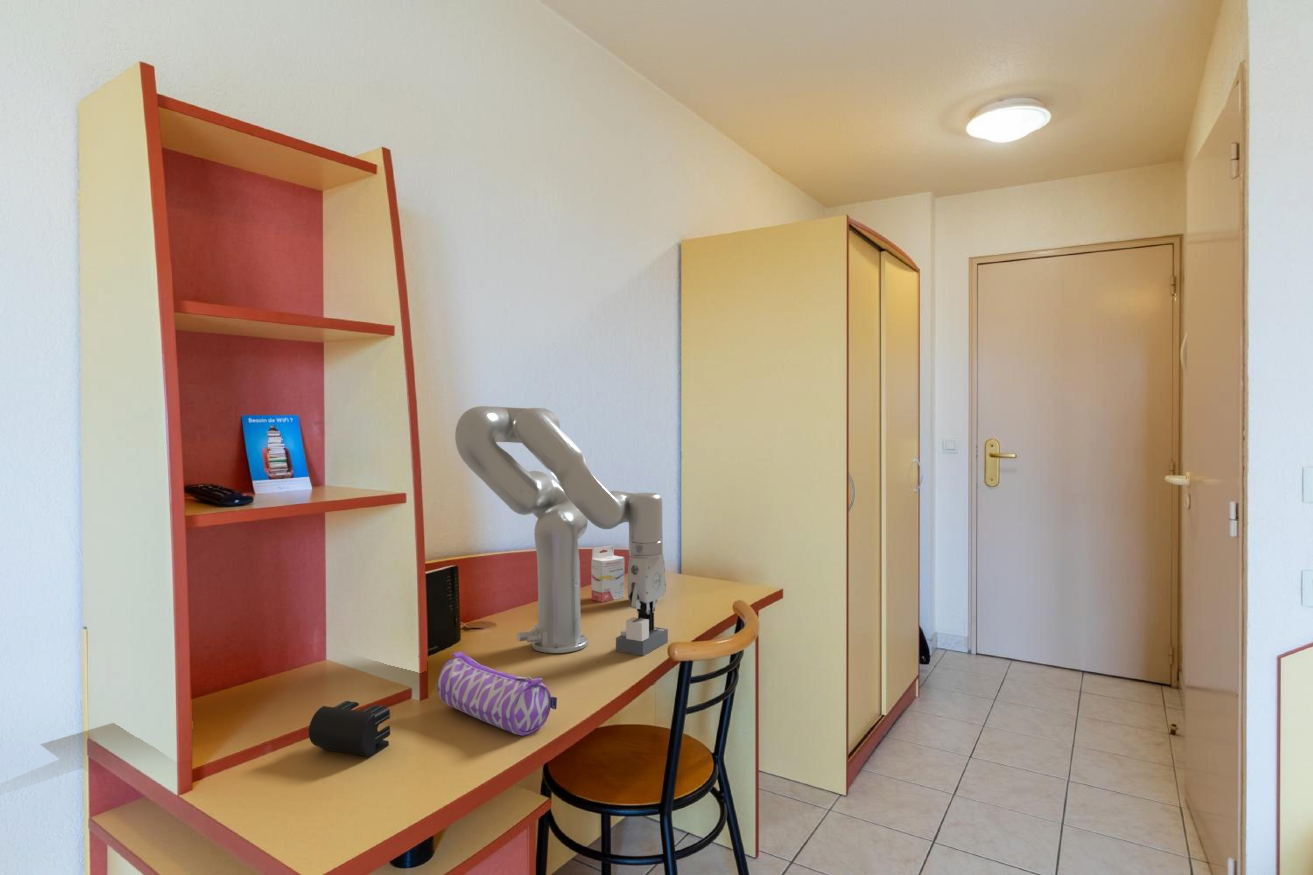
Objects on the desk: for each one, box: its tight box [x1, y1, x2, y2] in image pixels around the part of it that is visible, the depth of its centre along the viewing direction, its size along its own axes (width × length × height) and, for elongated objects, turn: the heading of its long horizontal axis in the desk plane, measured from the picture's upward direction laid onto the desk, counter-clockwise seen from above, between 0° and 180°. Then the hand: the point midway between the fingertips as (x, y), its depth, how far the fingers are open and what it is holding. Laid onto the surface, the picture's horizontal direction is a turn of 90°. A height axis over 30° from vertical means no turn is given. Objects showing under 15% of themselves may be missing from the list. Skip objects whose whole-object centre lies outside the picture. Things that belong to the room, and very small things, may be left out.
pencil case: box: [437, 651, 558, 736], centre depth 124 cm, size 22×9×10 cm, turn 54°
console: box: [615, 626, 669, 657], centre depth 163 cm, size 11×7×4 cm, turn 150°
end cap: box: [308, 700, 391, 758], centre depth 113 cm, size 10×7×7 cm
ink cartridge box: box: [590, 544, 625, 603], centre depth 206 cm, size 9×5×15 cm, turn 133°
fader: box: [625, 616, 649, 641], centre depth 158 cm, size 3×4×4 cm
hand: (646, 629), depth 162 cm, fingers closed
